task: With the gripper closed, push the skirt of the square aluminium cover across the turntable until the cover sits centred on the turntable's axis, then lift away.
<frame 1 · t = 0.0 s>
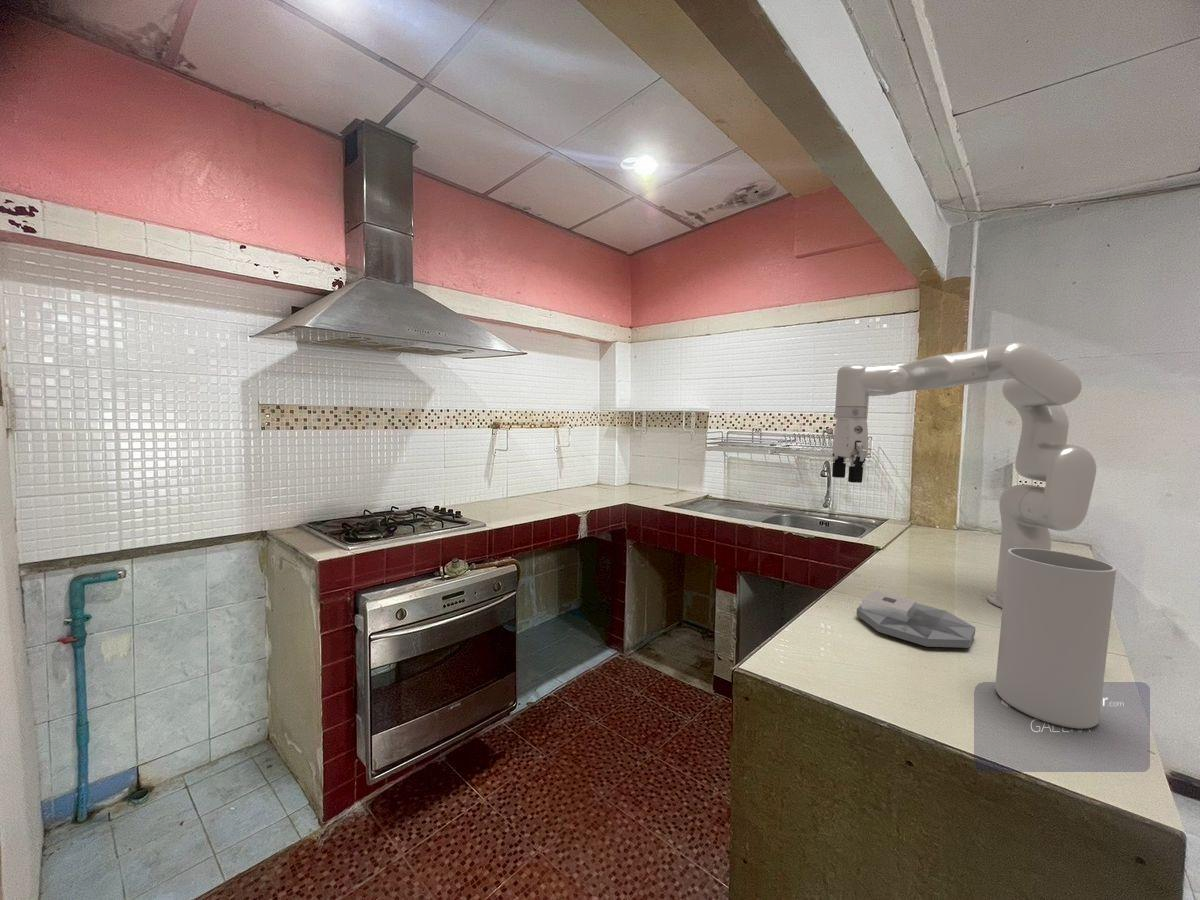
hand: (846, 479, 122), 31 cm above the countertop, tool pointing down, fingers open, 9 cm apart
turntable: (913, 620, 106), point 2 cm above the countertop, hinge at 0.0°, touching cover
cylinder vase: (1043, 707, 78), on the countertop
cover: (888, 610, 109), point 3 cm above the countertop, touching turntable
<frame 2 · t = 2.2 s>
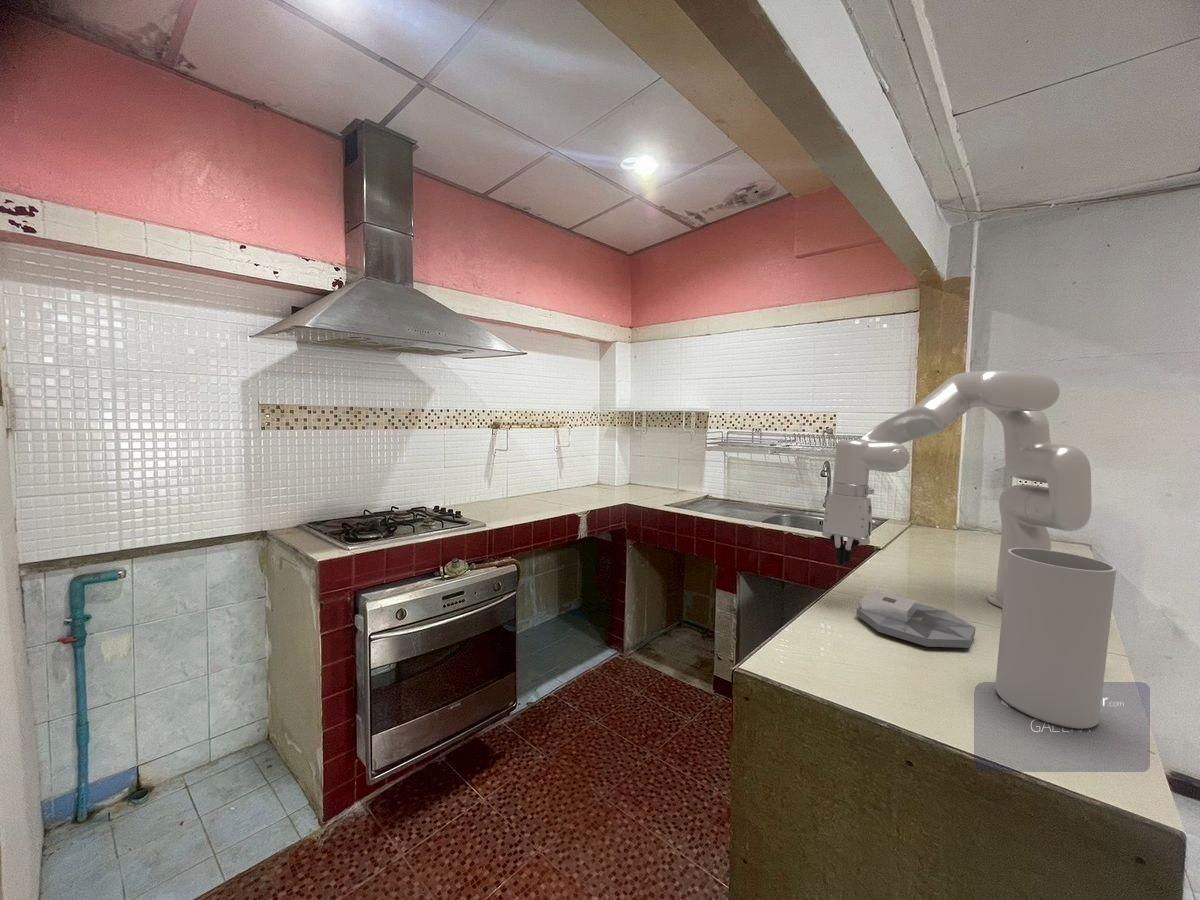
hand: (842, 563, 116), 11 cm above the countertop, tool pointing down, fingers closed
nothing on the countertop moved.
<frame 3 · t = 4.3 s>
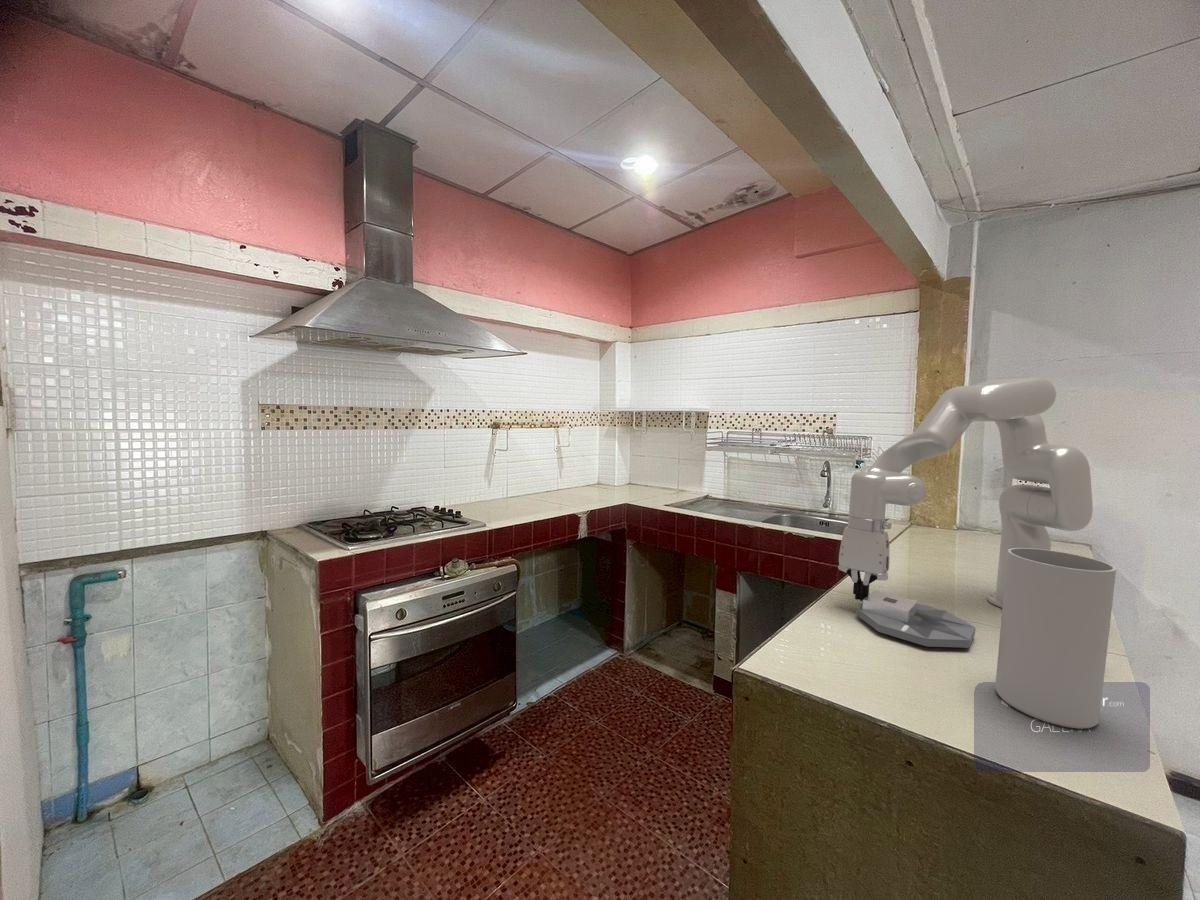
hand: (860, 598, 113), 4 cm above the countertop, tool pointing down, fingers closed
cover: (889, 610, 109), point 3 cm above the countertop, touching gripper, turntable
everything else where it was.
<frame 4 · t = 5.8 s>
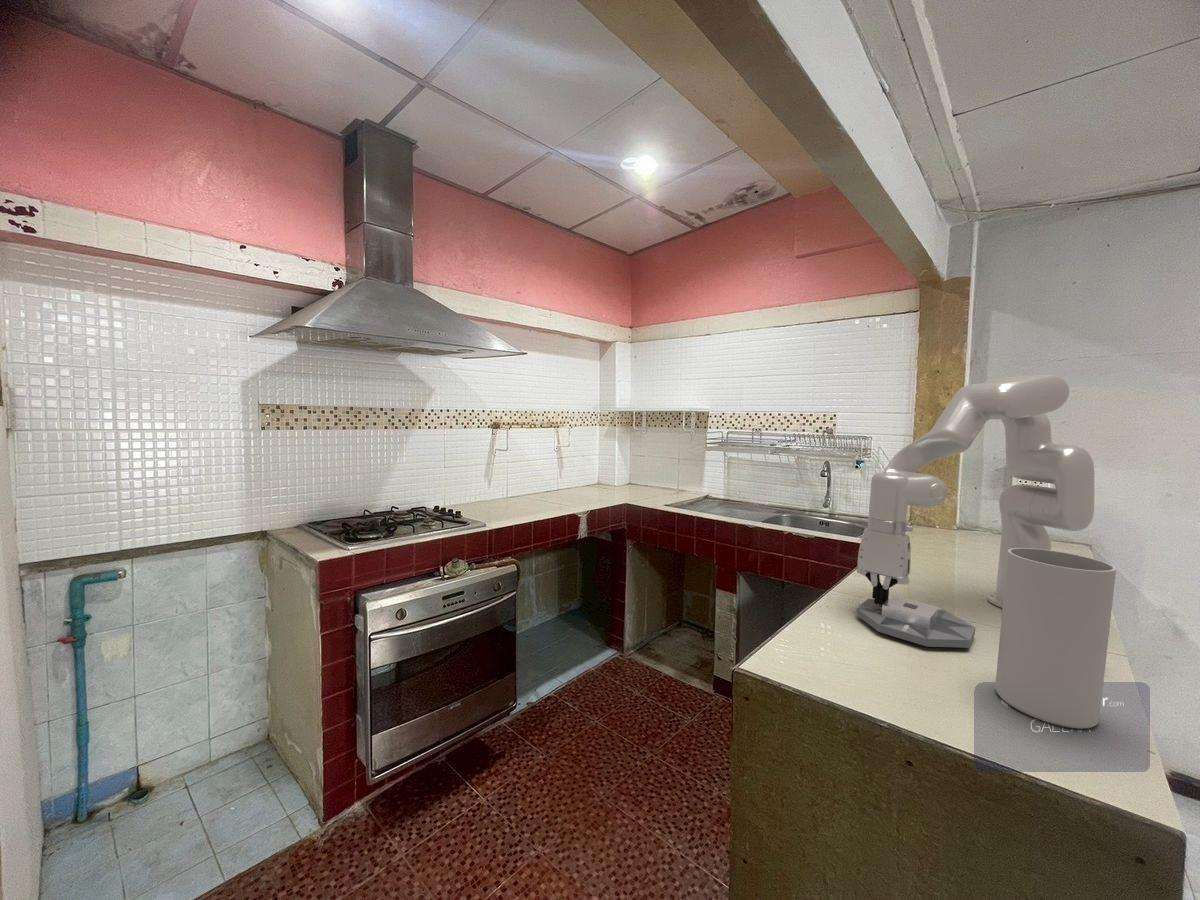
hand: (879, 602, 110), 4 cm above the countertop, tool pointing down, fingers closed
cover: (909, 616, 106), point 3 cm above the countertop, touching gripper, turntable
everything else where it was.
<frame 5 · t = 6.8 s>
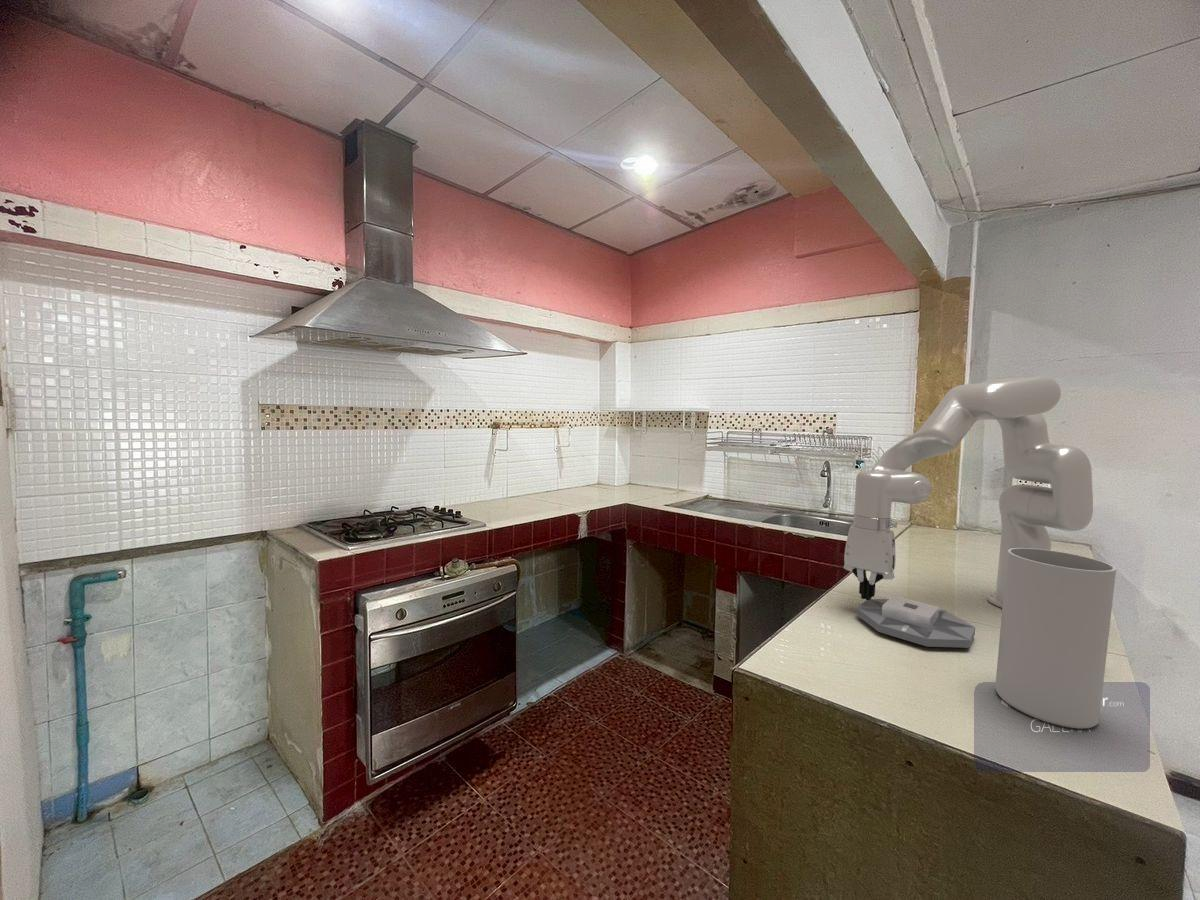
hand: (866, 598, 113), 4 cm above the countertop, tool pointing down, fingers closed
cover: (909, 616, 106), point 3 cm above the countertop, touching turntable
everything else where it was.
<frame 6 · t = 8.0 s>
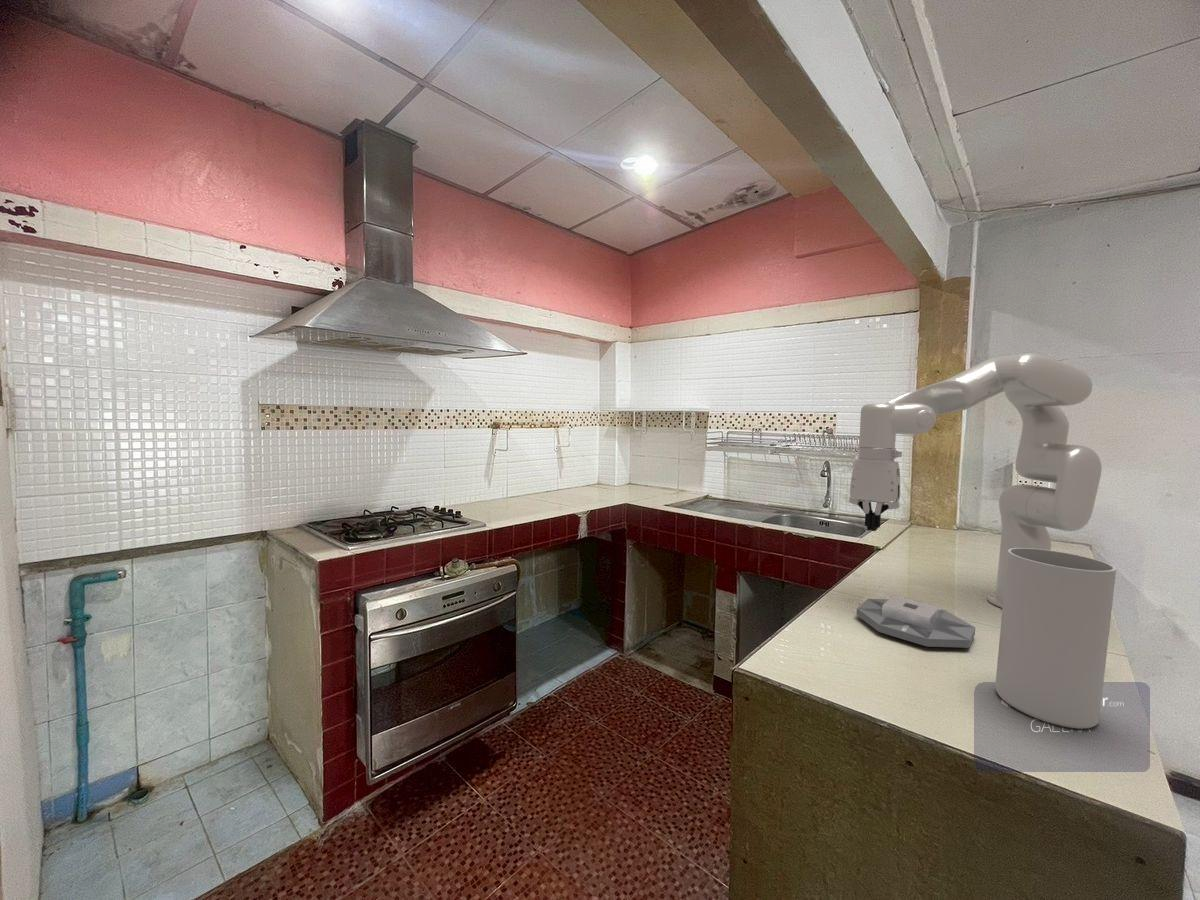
hand: (872, 529, 114), 20 cm above the countertop, tool pointing down, fingers closed
nothing on the countertop moved.
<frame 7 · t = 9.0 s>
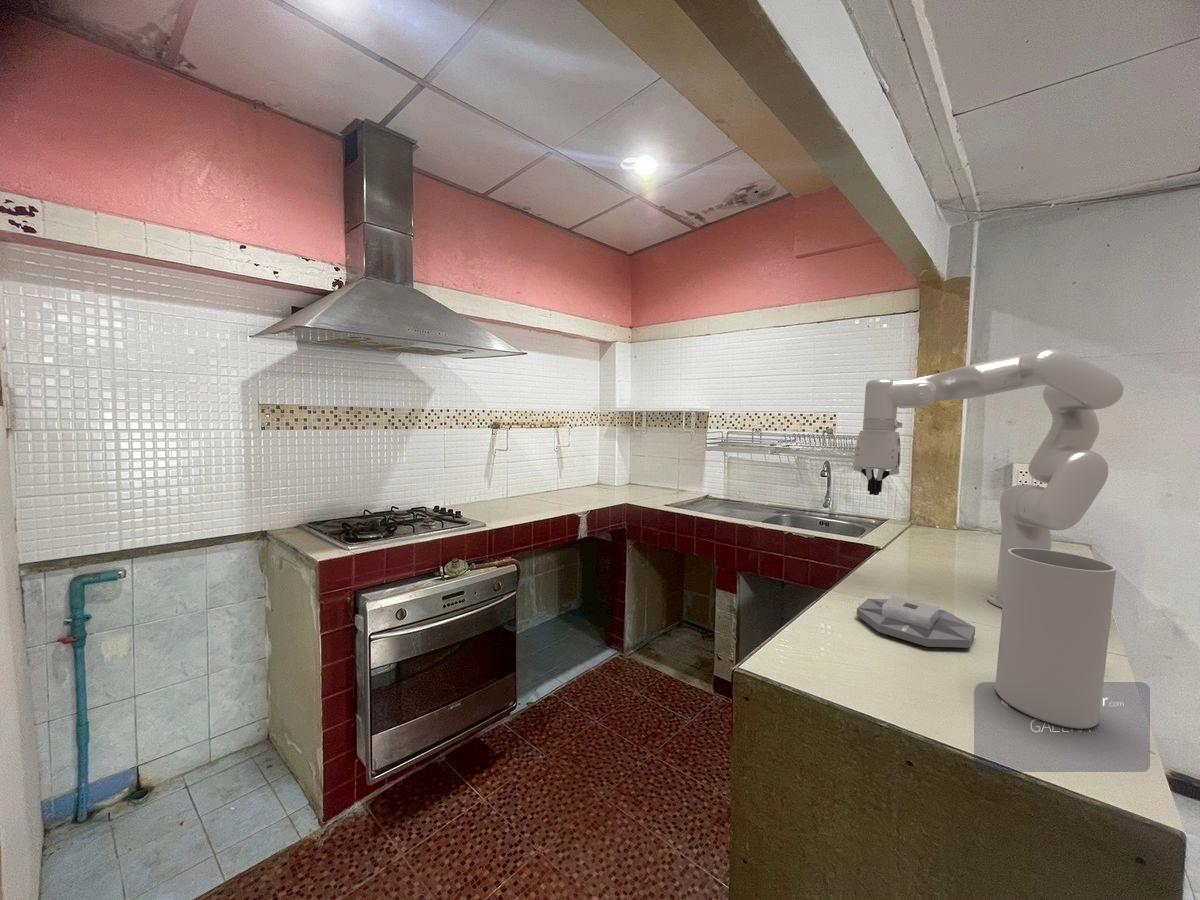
hand: (874, 494, 126), 27 cm above the countertop, tool pointing down, fingers closed
nothing on the countertop moved.
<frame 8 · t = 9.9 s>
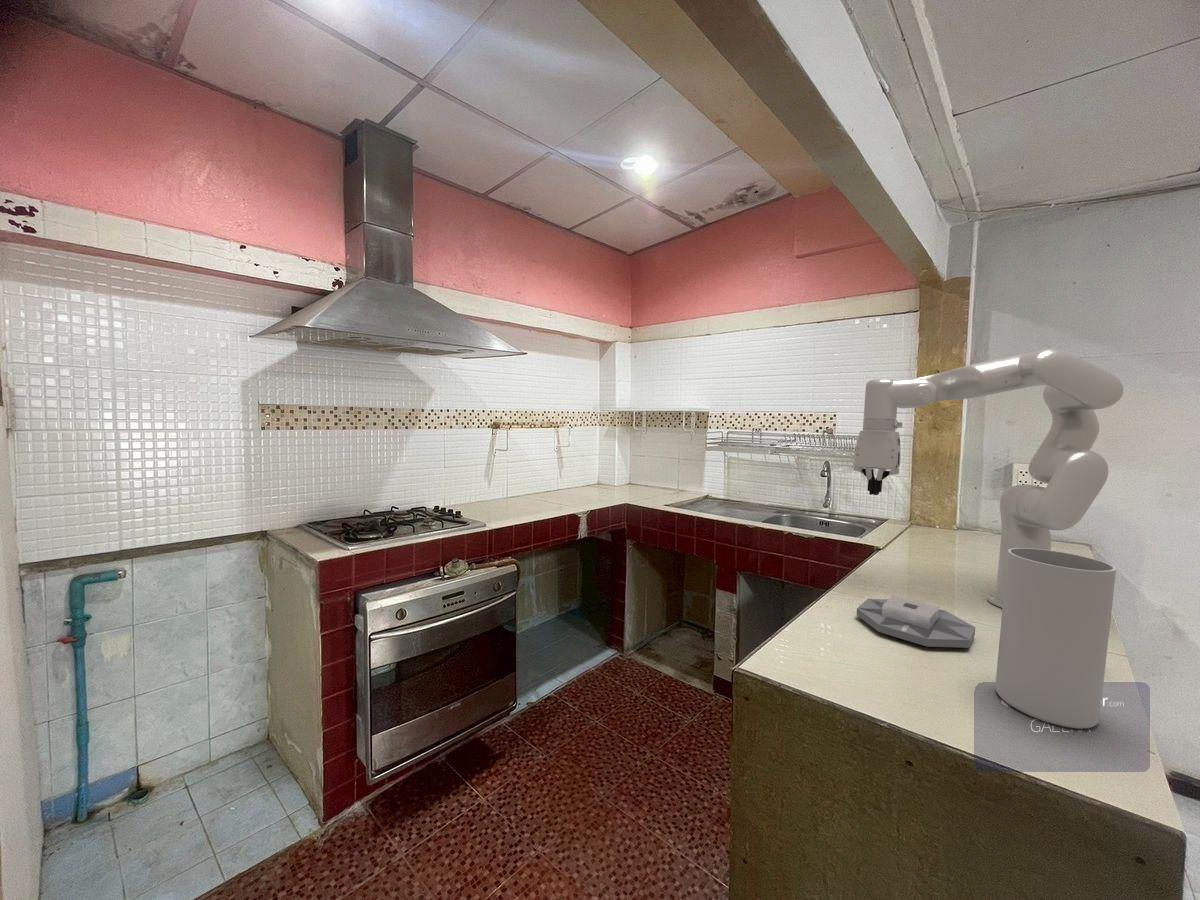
hand: (874, 494, 126), 27 cm above the countertop, tool pointing down, fingers closed
nothing on the countertop moved.
at the end: cover 0.8 cm from the turntable (horizontally); cover point 2.6 cm above the countertop; cover tilted 0° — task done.
